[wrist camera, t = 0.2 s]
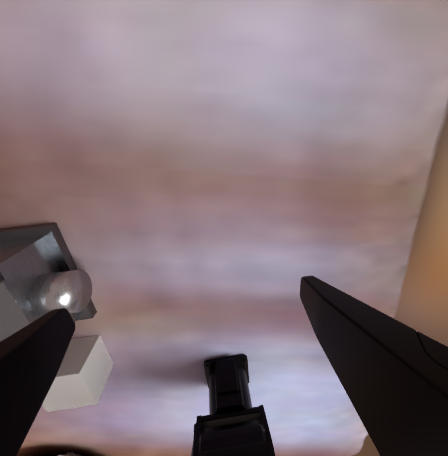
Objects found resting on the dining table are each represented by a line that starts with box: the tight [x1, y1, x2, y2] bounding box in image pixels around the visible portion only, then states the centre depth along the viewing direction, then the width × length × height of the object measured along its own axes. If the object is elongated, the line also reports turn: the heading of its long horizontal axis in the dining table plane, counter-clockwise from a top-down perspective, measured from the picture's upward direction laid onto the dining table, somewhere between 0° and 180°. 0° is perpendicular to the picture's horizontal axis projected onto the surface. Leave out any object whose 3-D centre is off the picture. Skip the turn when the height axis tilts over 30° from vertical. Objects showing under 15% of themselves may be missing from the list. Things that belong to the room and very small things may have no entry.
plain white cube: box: [42, 335, 114, 412], centre depth 26 cm, size 6×6×5 cm
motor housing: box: [0, 223, 97, 342], centre depth 20 cm, size 12×14×8 cm
